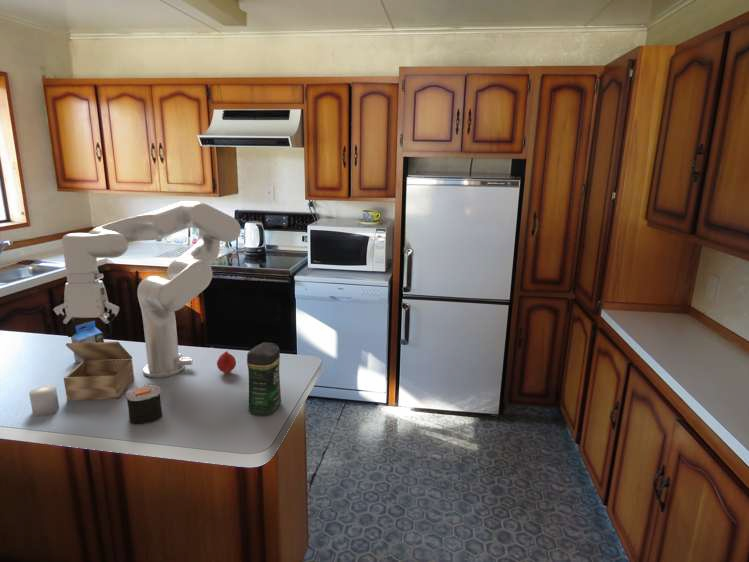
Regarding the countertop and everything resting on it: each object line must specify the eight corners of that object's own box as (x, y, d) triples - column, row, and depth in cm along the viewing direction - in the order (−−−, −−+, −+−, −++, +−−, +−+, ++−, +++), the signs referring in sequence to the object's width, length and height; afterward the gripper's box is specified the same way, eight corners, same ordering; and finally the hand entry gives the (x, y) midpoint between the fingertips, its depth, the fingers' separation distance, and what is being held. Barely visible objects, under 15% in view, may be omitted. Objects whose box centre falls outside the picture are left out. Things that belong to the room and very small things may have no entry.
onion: (213, 375, 150) (212, 352, 148) (225, 368, 156) (224, 346, 154) (228, 378, 148) (227, 355, 146) (240, 371, 154) (238, 349, 152)
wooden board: (131, 359, 145) (132, 357, 145) (117, 343, 134) (118, 341, 135) (83, 360, 143) (84, 358, 143) (65, 345, 133) (66, 343, 133)
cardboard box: (134, 379, 146) (131, 359, 145) (119, 398, 135) (116, 376, 133) (86, 381, 145) (83, 360, 143) (67, 400, 133) (63, 378, 131)
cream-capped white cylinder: (63, 404, 131) (60, 384, 130) (52, 415, 125) (48, 395, 124) (40, 405, 130) (37, 385, 129) (27, 416, 125) (24, 396, 123)
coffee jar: (272, 418, 126) (269, 354, 122) (245, 415, 127) (241, 351, 123) (285, 401, 135) (283, 341, 131) (259, 398, 137) (256, 338, 132)
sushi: (165, 419, 125) (162, 392, 123) (130, 427, 120) (127, 399, 118) (160, 406, 131) (157, 380, 129) (127, 413, 127) (124, 387, 125)
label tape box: (81, 363, 157) (76, 329, 154) (74, 361, 159) (69, 327, 156) (106, 354, 165) (101, 321, 162) (98, 352, 167) (94, 320, 164)
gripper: (121, 274, 134) (127, 330, 138) (57, 274, 133) (65, 331, 137) (109, 280, 127) (116, 339, 131) (42, 280, 125) (50, 340, 129)
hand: (90, 335), depth 134 cm, fingers open, 9 cm apart
